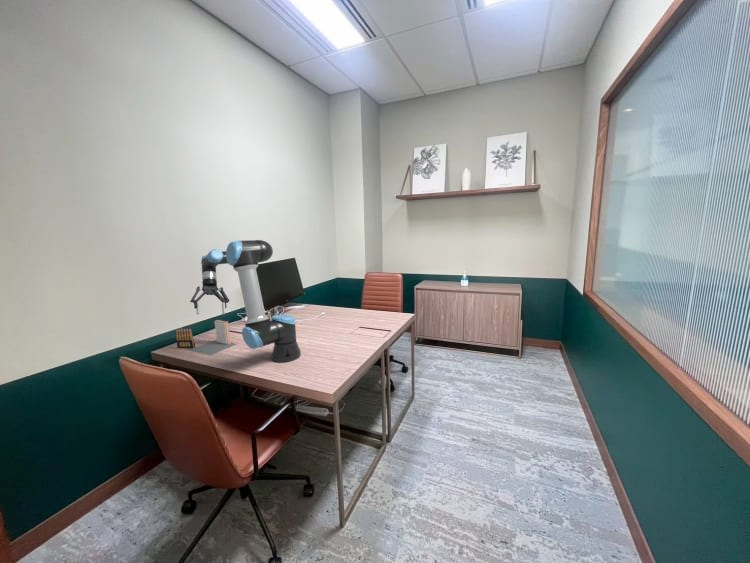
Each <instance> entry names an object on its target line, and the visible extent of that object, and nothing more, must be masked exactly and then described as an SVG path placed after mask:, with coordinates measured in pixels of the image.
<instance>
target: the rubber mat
mask: <svg viewBox="0 0 750 563" xmlns="http://www.w3.org/2000/svg"><path fill="white" fill-rule="evenodd" d="M237 345H238V343H234V342H231V344H223V343H218V342H217V339H214V340H211V341H209V342H206V343H204V344H201V345H198V346H195V348H188V351H191V352H196V353H198V354H204V355H208V356H212V355H215V354H218V353H220V352H223V351H224V350H226V349H230V348H231V347H234V346H237Z"/></svg>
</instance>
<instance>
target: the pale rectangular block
mask: <svg viewBox="0 0 750 563" xmlns="http://www.w3.org/2000/svg"><path fill="white" fill-rule="evenodd" d="M214 330H215V336H216V340H217V342H218V343H223V344H231V343H232V342H231V334H230V326H229V321H226V320H220V319H216V320H214Z"/></svg>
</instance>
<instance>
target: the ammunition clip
mask: <svg viewBox="0 0 750 563" xmlns="http://www.w3.org/2000/svg"><path fill="white" fill-rule="evenodd" d="M175 334H176V336H175V337H176V346H177V349H192V348H195V347H196V342H195V339H194V336H193V332H192V329H191V328H189V329H188V328H184V329H183V328H176V329H175Z"/></svg>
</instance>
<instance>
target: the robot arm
mask: <svg viewBox="0 0 750 563" xmlns="http://www.w3.org/2000/svg"><path fill="white" fill-rule="evenodd" d="M273 252H274V250H273V247H272V245H271V244H270V243H269V242H267V241H266V240H262V239H255V240H254V239H253V240H250V239H249V240H235V241H234V240H233V241H230V242H229V243H228V245H227V247H226V250H224V251H221V250H220V249H216V248H214V249H212V250H210V251H209V252H208V253H207V254H205V255H202V257H201V263H200V264H201V274H202V275H201V276H202V277H201V278H202V279H201V280H202V282H201V284H202V286H200V285H198V286H197V287H196V289H195V292H194V294H193V296H192V298H191V299H190V303H192V304H193V307H194V309H195V310H196V315H199V314H200V302H199V301H200V300H201V299H202V298H203V297H204V296H205V295H207V296H215V297H216V298H217V299H218V300H219V301H221V310H222V311H221V312H222V315H225V314H226V309H227V306H228V305H227V303H229V302H230V301H231V300H230V299H229V297H228V295H227V294H226V292H225V291H224V288H223V287H218V281H217V267H218V266H219V265H225V264H228V265H229V266H232V267H233V271H235V272H237V275H238V276H237V277H238V280H239V285H240V289H241V296H242V300H243V305H244V309H245V313H246V321H245V323H244V325H245V326H244V327H242V330H241V333H242V334H241V335H242V338H243V341H244V343H245V345H247V347H249V349H252V350H255V349H259V348H263V347H266V346H268V345H271V344H272V345H273V344H274V345H273V349H272V353H271V358H272V361H273V362H276V363H287V362H292V361H294V360H295V361H296V360H298V358H300V357H301V356H302V354H301V353H302V352H301V349H300V347H299V344H298V342H297V328H296V320H295V317H294V316H293V315H290V314H276V315H273V316H272V317H271V320H270V317H269V316H267V315H266V312H265V311H266V310H265V307H264V302H263V301H264V300H263V297H262V292H261V287H260V282H259V276H258V273H257V268H258V267H259V263H263V262H267V261H269V260H270V259H271V258H272V257H273V254H274V253H273ZM200 291H202V293H201V294H200V295H199V296H198V297H197V295H198V293H199V292H200ZM196 297H197V298H196Z"/></svg>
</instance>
